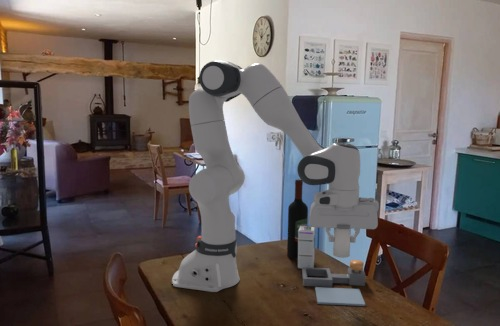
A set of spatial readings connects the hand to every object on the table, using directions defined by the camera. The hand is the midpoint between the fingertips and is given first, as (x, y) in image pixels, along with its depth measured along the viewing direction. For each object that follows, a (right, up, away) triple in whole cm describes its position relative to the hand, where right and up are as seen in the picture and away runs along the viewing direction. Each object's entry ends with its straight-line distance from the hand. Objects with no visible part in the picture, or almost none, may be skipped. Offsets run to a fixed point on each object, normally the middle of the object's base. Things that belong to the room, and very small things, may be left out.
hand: (341, 241), depth 126 cm
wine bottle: (-10, -13, +37) cm, 40 cm away
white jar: (0, -4, +1) cm, 4 cm away
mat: (0, -18, +3) cm, 18 cm away
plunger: (+8, -16, +13) cm, 22 cm away
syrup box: (-7, -14, +27) cm, 31 cm away
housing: (0, -16, +14) cm, 21 cm away
